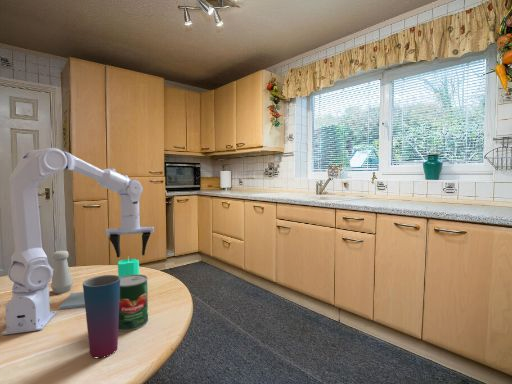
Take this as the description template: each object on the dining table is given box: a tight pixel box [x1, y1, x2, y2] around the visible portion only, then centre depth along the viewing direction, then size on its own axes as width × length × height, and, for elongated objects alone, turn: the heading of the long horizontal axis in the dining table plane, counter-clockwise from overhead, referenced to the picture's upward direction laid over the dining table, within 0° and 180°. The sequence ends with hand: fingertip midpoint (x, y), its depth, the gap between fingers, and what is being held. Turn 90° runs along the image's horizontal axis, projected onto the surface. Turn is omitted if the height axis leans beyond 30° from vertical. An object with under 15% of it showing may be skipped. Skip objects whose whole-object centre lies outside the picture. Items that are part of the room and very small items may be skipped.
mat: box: [59, 291, 85, 311], centre depth 85 cm, size 10×10×1 cm
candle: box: [117, 256, 140, 277], centre depth 89 cm, size 6×6×12 cm
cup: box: [82, 274, 120, 358], centre depth 59 cm, size 7×7×15 cm
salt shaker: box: [50, 250, 74, 295], centre depth 92 cm, size 6×6×13 cm
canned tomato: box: [118, 274, 149, 332], centre depth 71 cm, size 8×8×11 cm
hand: (131, 255), depth 96 cm, fingers open, 7 cm apart
